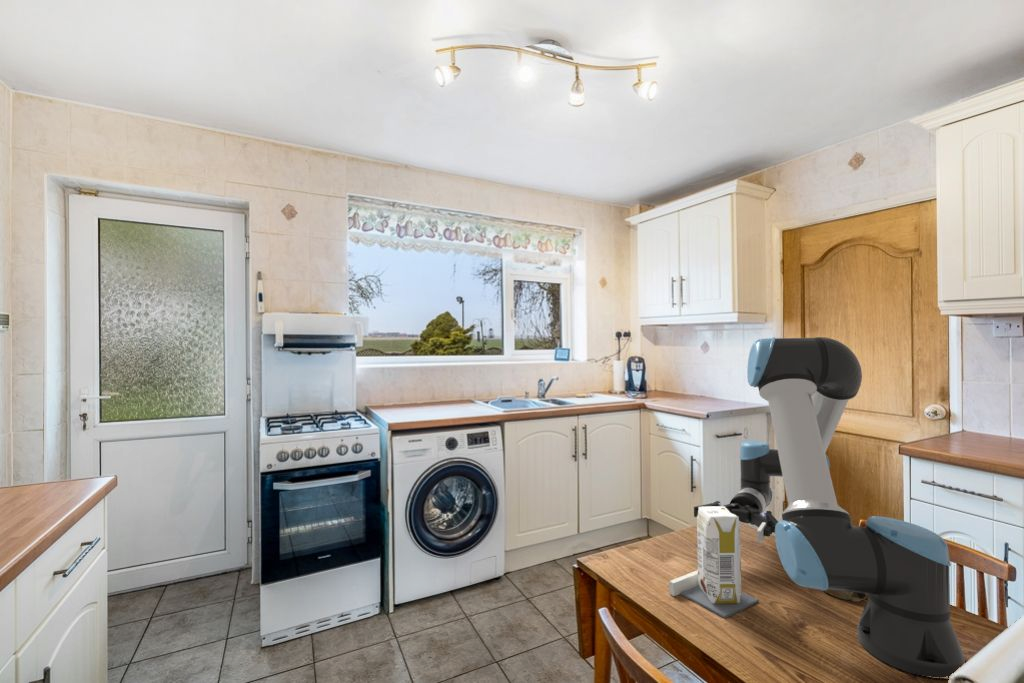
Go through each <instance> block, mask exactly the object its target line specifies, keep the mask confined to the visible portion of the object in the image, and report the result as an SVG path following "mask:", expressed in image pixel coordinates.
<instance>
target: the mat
mask: <svg viewBox="0 0 1024 683" xmlns="http://www.w3.org/2000/svg"><path fill="white" fill-rule="evenodd" d="M680 595H681V596H682V597H684V598H686V599H688V600H690V601H692V602H693V603H695V604H697V605H699V606H700V607H703V608H705V609H706V610H708V611H710V612H713V613H714V614H716V615H718V616H720V618H721V617H722V618H723V619H727V618H729V617H731V616H733V615H734V614H736V613H738V612H741V611H743V610H745V609H747V608H748V607H751V606H753V605H755V604H757V603H759V599H758V598H756V597H753V596H751V595H750V594H747V593H745V592H743V591H741V595H740V603H738V604H712V603H711V601H710V600H709V599H708V597H707V596H706V595H705V594H704V592H703V591H702V590H701V589H700V586H696V587H694V588H691V589H689V590H686V591H684V592H682V593H681V594H680ZM726 617H727V618H726Z"/></svg>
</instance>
